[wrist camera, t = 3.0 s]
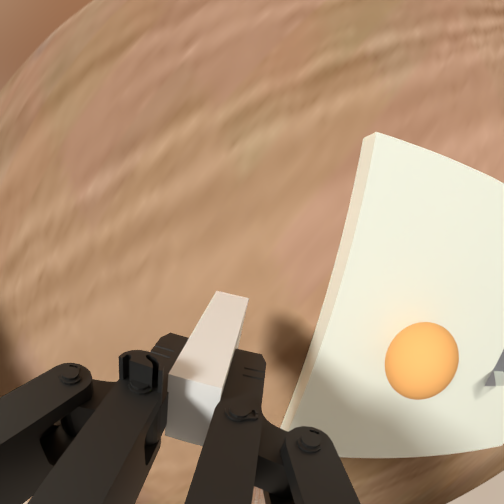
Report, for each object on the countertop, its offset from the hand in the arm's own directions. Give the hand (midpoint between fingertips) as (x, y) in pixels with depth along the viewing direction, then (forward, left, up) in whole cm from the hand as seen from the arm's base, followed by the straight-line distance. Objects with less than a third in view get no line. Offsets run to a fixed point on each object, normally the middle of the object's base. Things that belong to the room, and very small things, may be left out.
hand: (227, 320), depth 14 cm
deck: (+16, 0, -4) cm, 16 cm away
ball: (+10, 0, +1) cm, 10 cm away
